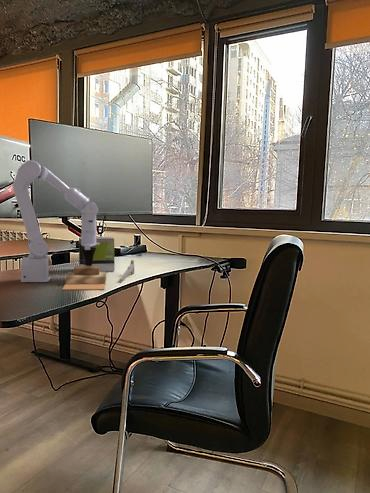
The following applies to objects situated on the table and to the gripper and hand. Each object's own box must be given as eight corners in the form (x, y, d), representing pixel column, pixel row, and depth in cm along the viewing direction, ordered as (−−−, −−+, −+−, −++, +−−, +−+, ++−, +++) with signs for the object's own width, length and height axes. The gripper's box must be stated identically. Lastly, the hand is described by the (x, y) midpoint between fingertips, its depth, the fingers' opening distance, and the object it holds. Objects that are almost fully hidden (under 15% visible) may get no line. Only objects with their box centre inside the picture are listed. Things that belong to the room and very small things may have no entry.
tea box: (113, 268, 181) (113, 236, 179) (114, 272, 171) (114, 238, 170) (79, 268, 177) (79, 235, 176) (78, 272, 168) (78, 237, 166)
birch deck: (65, 284, 142) (65, 276, 142) (69, 279, 152) (69, 271, 152) (105, 284, 145) (105, 276, 144) (106, 279, 155) (106, 271, 154)
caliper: (131, 274, 169) (132, 259, 168) (134, 274, 169) (134, 259, 168) (118, 283, 149) (118, 267, 148) (121, 283, 149) (121, 267, 148)
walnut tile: (73, 275, 145) (73, 268, 145) (75, 272, 151) (75, 265, 151) (98, 275, 147) (98, 268, 147) (99, 272, 153) (99, 265, 153)
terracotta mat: (62, 290, 134) (62, 289, 134) (65, 284, 142) (65, 283, 142) (104, 289, 136) (104, 288, 136) (105, 284, 144) (105, 283, 144)
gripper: (98, 233, 149) (98, 268, 150) (100, 230, 163) (100, 263, 165) (79, 233, 148) (79, 268, 149) (82, 230, 162) (82, 263, 163)
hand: (89, 265), depth 157 cm, fingers closed
